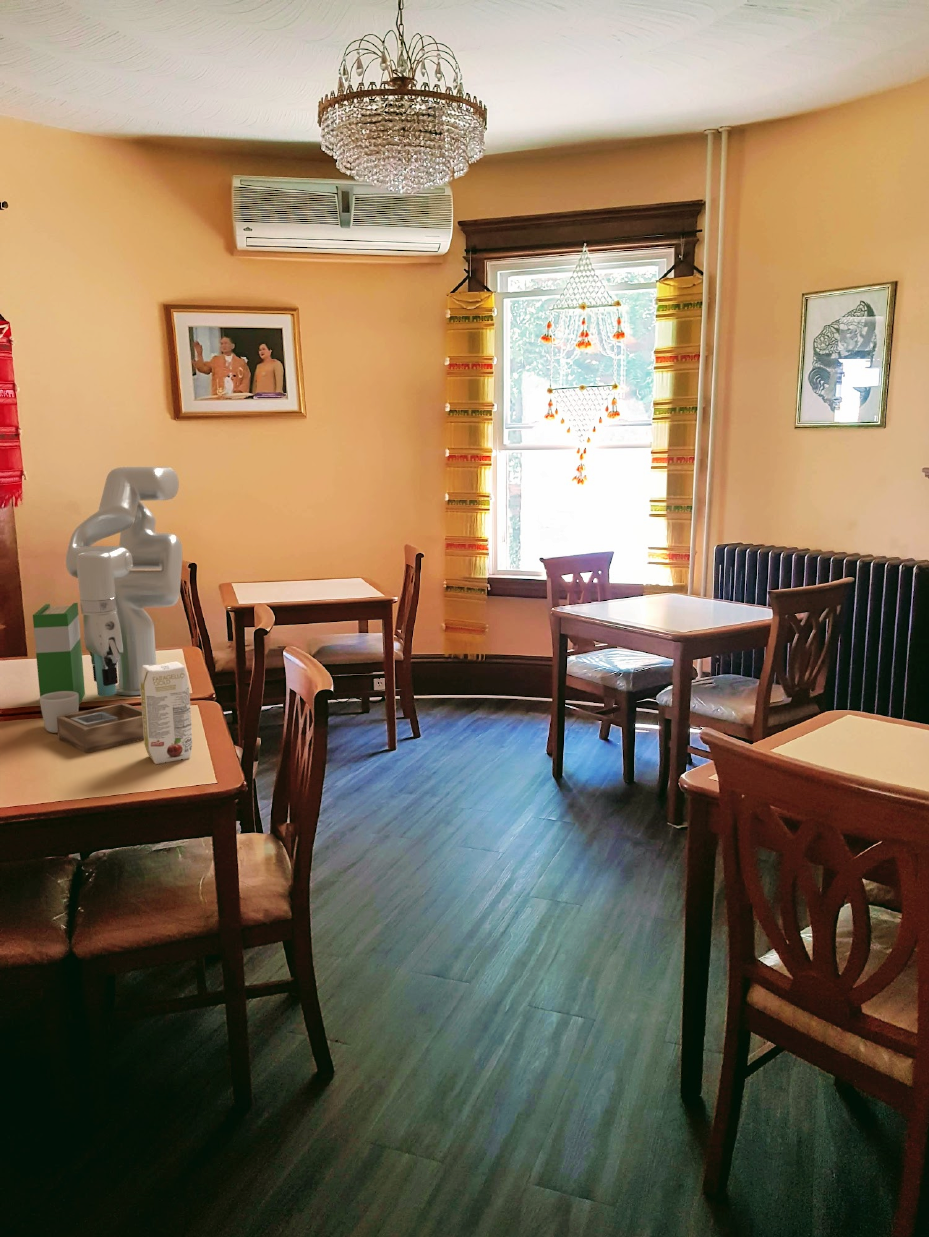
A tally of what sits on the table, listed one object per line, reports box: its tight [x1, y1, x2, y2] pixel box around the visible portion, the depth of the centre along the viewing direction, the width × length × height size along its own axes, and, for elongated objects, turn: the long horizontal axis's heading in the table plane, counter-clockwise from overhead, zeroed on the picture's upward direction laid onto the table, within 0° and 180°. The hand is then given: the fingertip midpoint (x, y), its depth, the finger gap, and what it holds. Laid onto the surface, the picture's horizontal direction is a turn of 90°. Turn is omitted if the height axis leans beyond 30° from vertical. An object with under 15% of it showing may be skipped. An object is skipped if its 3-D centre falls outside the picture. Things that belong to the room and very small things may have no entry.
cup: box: [38, 691, 80, 734], centre depth 194 cm, size 11×8×8 cm
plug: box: [94, 652, 117, 697], centre depth 201 cm, size 4×4×10 cm
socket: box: [71, 712, 118, 727], centre depth 186 cm, size 7×7×4 cm
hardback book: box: [32, 602, 86, 714], centre depth 213 cm, size 18×7×24 cm, turn 16°
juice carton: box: [140, 661, 193, 765], centre depth 174 cm, size 8×9×19 cm
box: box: [57, 702, 144, 754], centre depth 188 cm, size 15×14×5 cm
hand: (105, 681), depth 202 cm, fingers closed on plug, 4 cm apart
